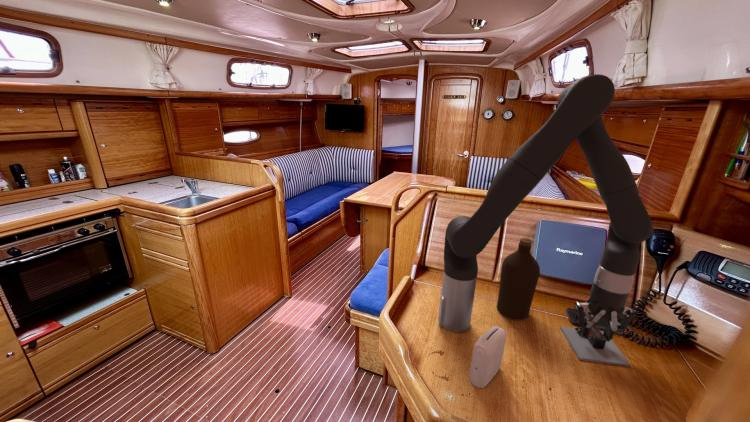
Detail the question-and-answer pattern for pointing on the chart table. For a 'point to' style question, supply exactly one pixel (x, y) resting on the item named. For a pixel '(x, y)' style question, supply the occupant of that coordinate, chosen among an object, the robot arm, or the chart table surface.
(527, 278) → the olive oil
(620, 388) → the chart table surface
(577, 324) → the phone
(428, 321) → the chart table surface
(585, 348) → the mat
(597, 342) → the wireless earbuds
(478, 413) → the chart table surface
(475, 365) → the photo printer
